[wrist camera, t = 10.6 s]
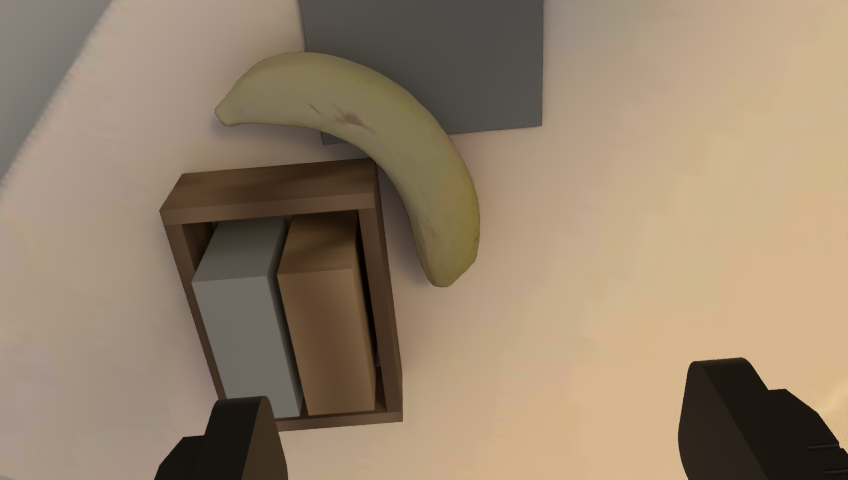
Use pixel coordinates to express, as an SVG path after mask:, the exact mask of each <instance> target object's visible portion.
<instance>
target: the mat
mask: <svg viewBox="0 0 848 480" xmlns="http://www.w3.org/2000/svg"><path fill="white" fill-rule="evenodd" d="M299 2H300V8H301V14H302V20H303V26H304V33H305V39H306V45H307V51H308V52H312V53H322V54H328V55H332V56H336V57H339V58H343V59H347V60H350V61H352V62H355V63H358V64H361V65H363V66H366V67H368V68H370V69H372V70H374V71H377V72H378V73H380V74H382V75H384V76H386V77H387V78H389V79H391V80H392V81H394V82H395V83H397V84H398V85H400V86H401V87H403V88H404V89H406V90H407V91H408V92H409V93H410V94H411V95H412V96H414V97H415V99H416V100H417V101H418V102H419V103H420V104H421V105H423V106H424V107H425V108H426V109H427V110H428V111H429V112H430V113H431V114H432V115H433V116H434V118H435V119H436V120H437V122H438V123H439V124H440V126H441V127H442V129H443V130H444V131H445V133H446V134H455V133H466V132H478V131H490V130H502V129H513V128H525V127H537V126H542V79H543V0H299ZM321 135H322V141H323V145H326V144H338V143H349V142H347V141H345V140H343V139H341V138H338V137H336V136H334V135H331V134H328V133H325V132H322V131H321Z"/></svg>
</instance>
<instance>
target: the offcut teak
mask: <svg viewBox="0 0 848 480" xmlns="http://www.w3.org/2000/svg"><path fill="white" fill-rule="evenodd" d="M277 278H278V282H279V287H280V291H281V295H282V300H283V304H284V309H285V313H286V317H287V322H288V326H289V330H290V335H291V339H292V344H293V348H294V352H295V357H296V361H297V366H298V370H299V374H300V379H301V383H302V388H303V392H304V396H305V401H306V405H307V410H308V414H309V415H321V414H333V413H345V412H358V411H370V410H374V409H375V384H376V359H377V337H376V330H375V323H374V316H373V309H372V302H371V295H370V288H369V281H368V274H367V268H366V261H365V254H364V247H363V240H362V233H361V226H360V219H359V212H358V209H353V210H341V211H330V212H318V213H306V214H294V215H293V218H292V222H291V225H290V229H289V233H288V236H287V240H286V244H285V247H284V251H283V254H282V258H281V262H280V265H279V269H278V273H277Z"/></svg>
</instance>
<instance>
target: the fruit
mask: <svg viewBox="0 0 848 480" xmlns="http://www.w3.org/2000/svg"><path fill="white" fill-rule="evenodd" d="M214 111H215V114H216V115H217V117H218V118H219V121H220V122H221V123H222V124H223V125H224V126H231V127H232V126H235V125H240V124H250V123H257V124H274V125H287V126H300V127H306V128H311V129H315V130H319V131H322V132H325V133H328V134H331V135H334V136H336V137H338V138H341V139H343V140H345V141H347V142H349V143H351V144H353V145H355V146H356V147H358V148H359V149H361V150H362V151H363V152H365V153H366V154H367V155H369V156H370V157H371V158H372V159H373V160H374V161H375V162H376V163H377V164H378V165H379V166H380V167H381V168H382V169H383V170H384V171H385V173H386V174H387V175H388V177H389V178H390V180H391V181H392V183H393V184H394V186H395V188H396V189H397V191H398V193H399V195H400V197H401V198H402V201H403V203H404V206H405V208H406V210H407V213H408V216H409V219H410V224H411V229H412V233H413V237H414V242H415V246H416V250H417V254H418V257H419V260H420V263H421V265H422V268H423V270H424V271H425V274H426V276H427V278H428V279H429V280H430V282H431V283H432V284H433V285H434V286H436V287H448V286H450V285H452V284H453V283H454V282H455V281H456V280H457V279H458V277H459V276H461V275H462V274H463V273H464V272H465V271H466V270H467V269H468V268H469V267H470V265H471V264H473V263H474V262H475V260H476V257H477V251H478V245H479V237H480V214H479V205H478V199H477V195H476V191H475V187H474V184H473V181H472V178H471V176H470V174H469V171H468V169H467V167H466V165H465V163H464V161H463V159H462V157H461V155H460V153H459V152H458V150H457V148H456V147H455V145H454V144H453V142H452V141H451V139H450V138H449V137H448V136H447V134H446V133H445V131H444V130H443V129H442V127H441V126H440V124H439V123H438V122H437V120H436V119H435V118H434V116H433V115H432V114H431V113H430V112H429V111H428V110H427V109H426V108H425V107H424V106H423V105H421V104H420V103H419V102H418V101H417V100H416V99H415V97H414V96H412V95H411V94H410V93H409V92H408V91H407V90H406V89H404V88H403V87H401V86H400V85H398V84H397V83H395V82H394V81H392V80H391V79H389V78H387V77H386V76H384V75H382V74H380V73H378V72H377V71H374V70H372V69H370V68H368V67H366V66H363V65H361V64H358V63H355V62H352V61H350V60H347V59H343V58H339V57H336V56H332V55H328V54H322V53H312V52H293V53H284V54H280V55H276V56H273V57H270V58H267V59H265V60H263V61H261V62H259V63H258V64H256V65H255V66H253V67H252V68H251V69H250V70H249V71H248V72H246V73H245V74H244V75H243V76H242V77H241V78H240V79H239V80H238V81H237V83H236V84H235V85H234V86H233V88H232V89H231V90H230V92H229V93H228V95H227V96H226V97H225V98H224V99H223V100H222V101H221V102H220V104H219V105H218V106H217V107H216V108H215V110H214Z"/></svg>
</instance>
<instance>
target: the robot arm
mask: <svg viewBox="0 0 848 480" xmlns="http://www.w3.org/2000/svg"><path fill="white" fill-rule="evenodd" d="M678 444H679V452H680V457H681V461H682V464H683V467H684V470H685V473H686V475H687V477H688V480H848V454H847V452H846V451H845V450H844V448H840V446H839V442H838V440H837V439H836V437H835V436H834V435H833V433H832V432H831V431H830V429H829V428H828V426H827V425H826V424H825V422H824V421H823V420H822V418H821V417H820V416H819V414H818V413H817V412H816V411H814V410H813V409H812V408H810V407H809V406H808V405H806V404H805V403H804V402H802V401H801V400H800V399H798V398H797V397H796V396H794V395H793V394H792V393H790V392H789V391H788V390H786V389H777V390H768V389H767V387H766V386H765V384H764V383H763V381H762V380H761V378H760V377H759V375H758V374H757V372H756V371H755V369H754V368H753V366H752V365H751V364H750V362H749V361H747V360H746V359H745V358H729V359H717V360H705V361H694V362H692V363H691V364H690V366H689V369H688V373H687V379H686V386H685V392H684V398H683V404H682V411H681V417H680V423H679V429H678ZM154 480H288V472H287V465H286V460H285V456H284V452H283V448H282V445H281V441H280V437H279V433H278V429H277V425H276V422H275V418H274V414H273V410H272V406H271V403H270V400H269V398H268V397H267V396H255V397H243V398H231V399H219V400H217V401H216V403H215V404H214V406H213V409H212V412H211V415H210V418H209V422H208V425H207V428H206V431H205V434H204V435H202V436H190V437H183V438H182V439H181V440H180V442H179V443H178V444H177V445H176V446H175V448H174V449H173V450H172V451H171V452H170V453H169V455H168V456H167V457H166V458H165V459H164V461H163V462H162V463H161V464H160V465H159V468H158V471H157V473H156V476H155V479H154Z"/></svg>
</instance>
